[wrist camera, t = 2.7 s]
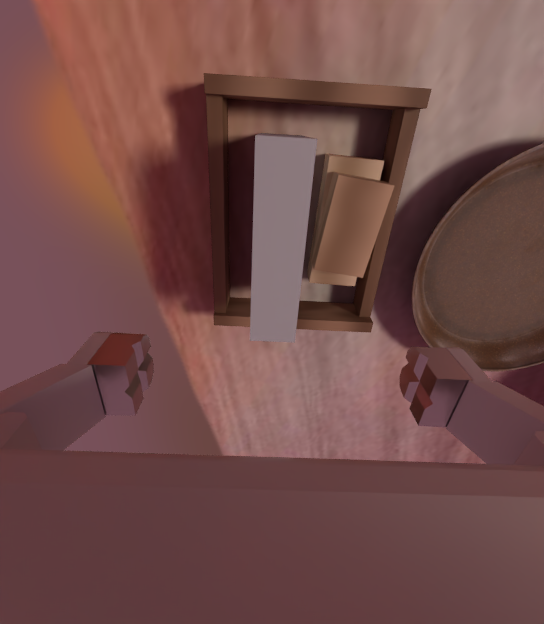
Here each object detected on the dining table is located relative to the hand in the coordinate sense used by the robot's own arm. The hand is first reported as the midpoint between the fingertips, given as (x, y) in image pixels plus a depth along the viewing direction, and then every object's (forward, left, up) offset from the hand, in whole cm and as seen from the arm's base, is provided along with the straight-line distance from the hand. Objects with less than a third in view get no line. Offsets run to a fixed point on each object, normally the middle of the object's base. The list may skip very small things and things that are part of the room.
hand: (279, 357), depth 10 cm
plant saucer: (-22, +3, -20) cm, 30 cm away
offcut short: (-6, 0, -17) cm, 18 cm away
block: (0, 0, -20) cm, 20 cm away
